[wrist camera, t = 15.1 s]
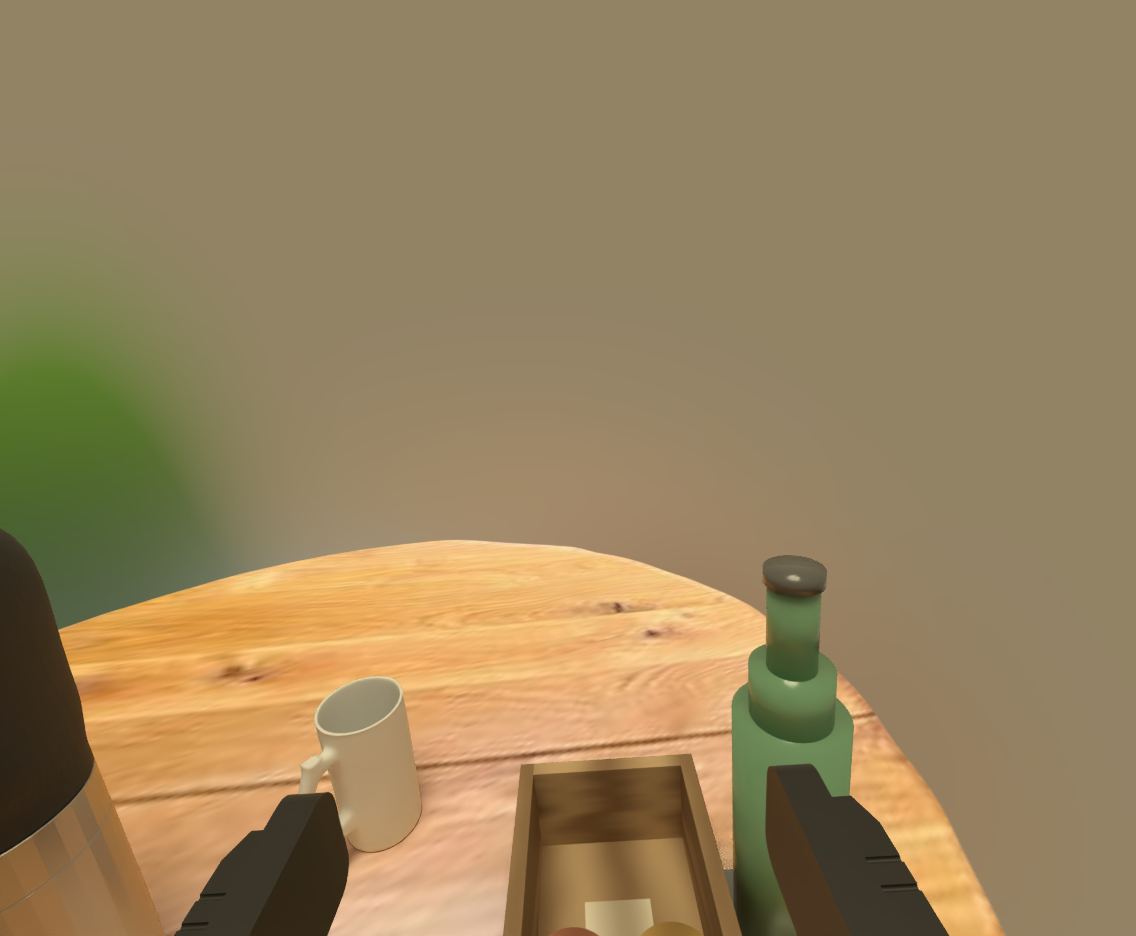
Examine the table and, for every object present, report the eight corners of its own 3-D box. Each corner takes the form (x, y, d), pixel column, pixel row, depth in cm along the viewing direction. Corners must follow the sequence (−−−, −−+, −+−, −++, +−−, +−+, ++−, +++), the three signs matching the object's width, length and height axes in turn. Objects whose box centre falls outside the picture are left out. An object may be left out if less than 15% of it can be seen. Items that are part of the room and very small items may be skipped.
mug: (385, 776, 51) (361, 668, 47) (440, 799, 48) (420, 686, 44) (292, 874, 42) (255, 752, 39) (352, 910, 39) (318, 781, 36)
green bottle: (717, 959, 34) (710, 578, 27) (755, 879, 38) (757, 535, 31) (821, 1035, 30) (844, 612, 23) (849, 937, 35) (876, 557, 27)
